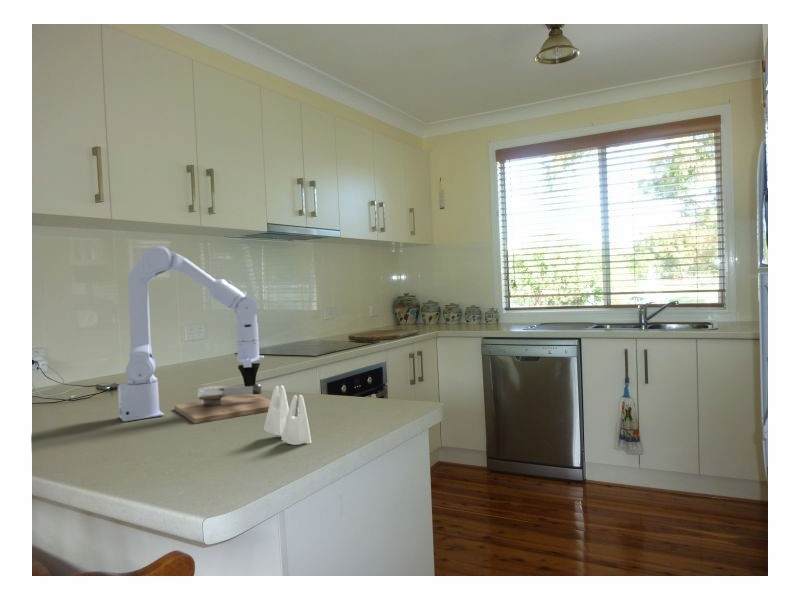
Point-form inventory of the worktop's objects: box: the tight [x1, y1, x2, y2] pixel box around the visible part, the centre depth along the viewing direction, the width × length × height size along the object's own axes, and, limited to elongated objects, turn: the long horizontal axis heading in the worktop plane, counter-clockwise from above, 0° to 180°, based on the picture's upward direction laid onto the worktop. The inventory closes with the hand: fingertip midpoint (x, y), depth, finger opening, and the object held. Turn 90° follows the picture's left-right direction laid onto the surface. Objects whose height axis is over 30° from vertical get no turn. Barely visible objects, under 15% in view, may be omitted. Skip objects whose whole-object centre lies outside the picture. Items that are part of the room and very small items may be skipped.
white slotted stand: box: [263, 385, 312, 446], centre depth 115 cm, size 12×4×11 cm, turn 45°
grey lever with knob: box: [197, 383, 262, 401], centre depth 151 cm, size 16×7×2 cm, turn 100°
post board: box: [173, 394, 271, 425], centre depth 149 cm, size 22×22×3 cm
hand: (250, 390), depth 154 cm, fingers closed
